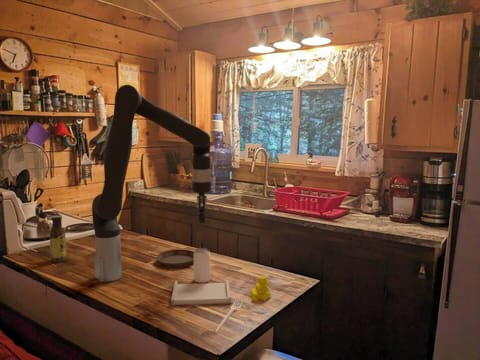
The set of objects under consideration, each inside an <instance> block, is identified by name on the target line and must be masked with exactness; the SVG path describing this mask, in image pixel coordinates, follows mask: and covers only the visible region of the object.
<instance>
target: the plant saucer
mask: <svg viewBox="0 0 480 360" xmlns="http://www.w3.org/2000/svg"><path fill="white" fill-rule="evenodd" d="M194 252H195V251H194V250H191V249H190V250H189V249H179V248H177V249H170V250H166V251H162V252H161V253H158V255H156V260H157V261H158V262H159V264H160V265H162V266H164V267H167V268H183V267H188V266H190V265H192V264H194Z"/></svg>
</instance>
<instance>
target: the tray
mask: <svg viewBox="0 0 480 360" xmlns="http://www.w3.org/2000/svg"><path fill="white" fill-rule="evenodd" d="M172 289H173V290H172V295H171V298H170V305H171V306H197V305H199V306H200V305H202V306H203V305H227V304H228V305H229V304H232V297H231V290H230V289H231V287H230V281H229V279H225V282H217V283H214V282H212V283H208V282H206V283H179V281H178V280H174V284H173V288H172Z"/></svg>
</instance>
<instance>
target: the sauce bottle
mask: <svg viewBox="0 0 480 360" xmlns="http://www.w3.org/2000/svg"><path fill="white" fill-rule="evenodd" d="M62 219H63V216H62V215H52V216H51V222H52V225H51V226H52V228H51V229H50V230H49V251H50V253H49V254H50V260H51V262H52V263H60V262H63V261H66V259H67V246H66V244H67V242H66V231H65V229H64V227H63V224H62Z"/></svg>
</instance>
